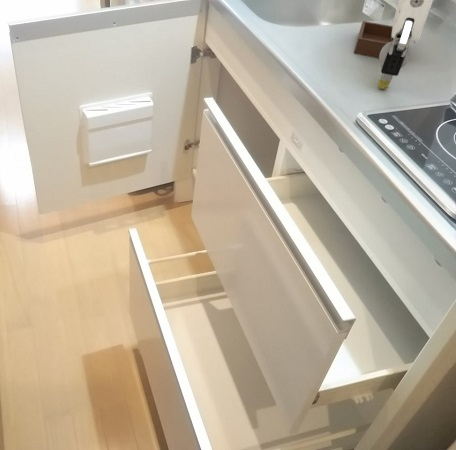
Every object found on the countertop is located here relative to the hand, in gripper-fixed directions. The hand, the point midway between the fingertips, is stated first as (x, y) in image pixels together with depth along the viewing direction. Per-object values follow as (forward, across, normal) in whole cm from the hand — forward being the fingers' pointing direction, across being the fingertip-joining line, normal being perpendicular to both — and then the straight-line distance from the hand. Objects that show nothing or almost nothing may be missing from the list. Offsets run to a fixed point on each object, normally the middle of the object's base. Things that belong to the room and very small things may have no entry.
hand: (390, 66), depth 103 cm
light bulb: (+5, 0, 0) cm, 5 cm away
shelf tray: (+5, +21, +2) cm, 22 cm away
